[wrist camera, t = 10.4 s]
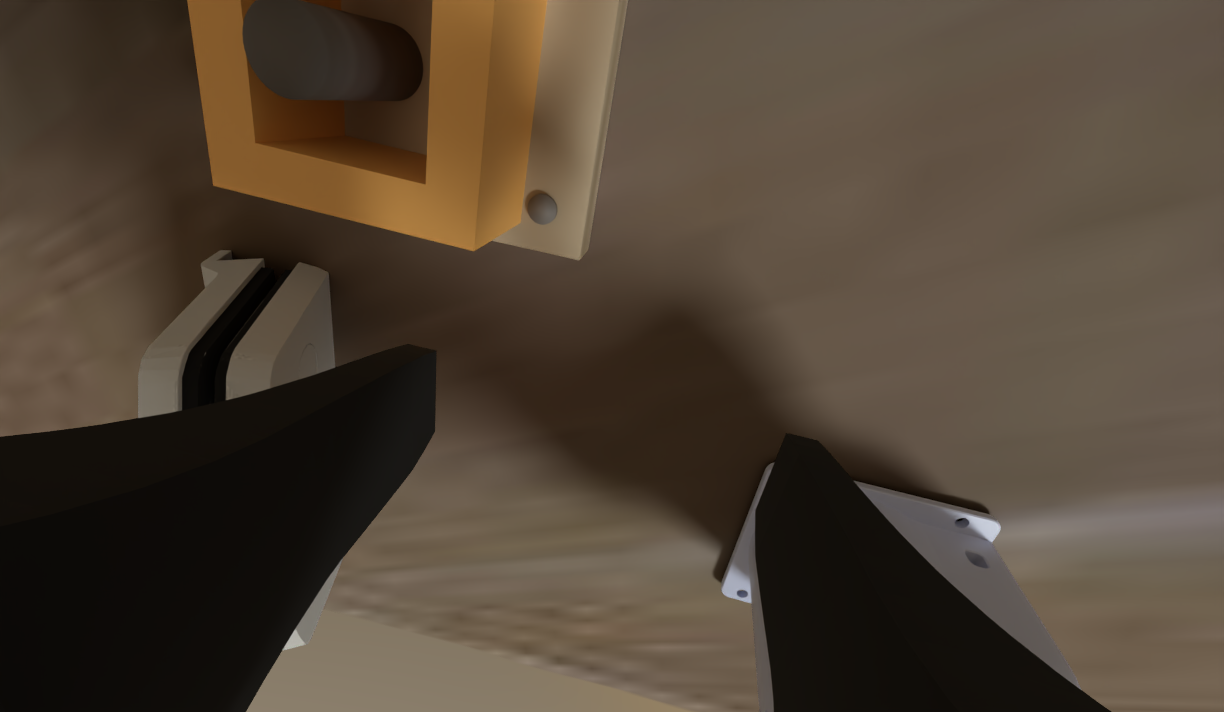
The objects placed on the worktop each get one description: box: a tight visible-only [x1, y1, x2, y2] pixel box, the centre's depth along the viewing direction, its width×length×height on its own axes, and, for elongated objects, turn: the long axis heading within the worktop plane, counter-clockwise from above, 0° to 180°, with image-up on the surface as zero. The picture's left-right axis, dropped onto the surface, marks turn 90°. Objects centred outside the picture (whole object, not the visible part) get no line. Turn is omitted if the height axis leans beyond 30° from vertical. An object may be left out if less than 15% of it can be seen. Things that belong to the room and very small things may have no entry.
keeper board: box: [242, 0, 628, 260], centre depth 16 cm, size 14×10×6 cm
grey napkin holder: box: [138, 250, 343, 650], centre depth 23 cm, size 17×5×10 cm, turn 170°
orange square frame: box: [187, 0, 547, 251], centre depth 15 cm, size 8×8×4 cm
